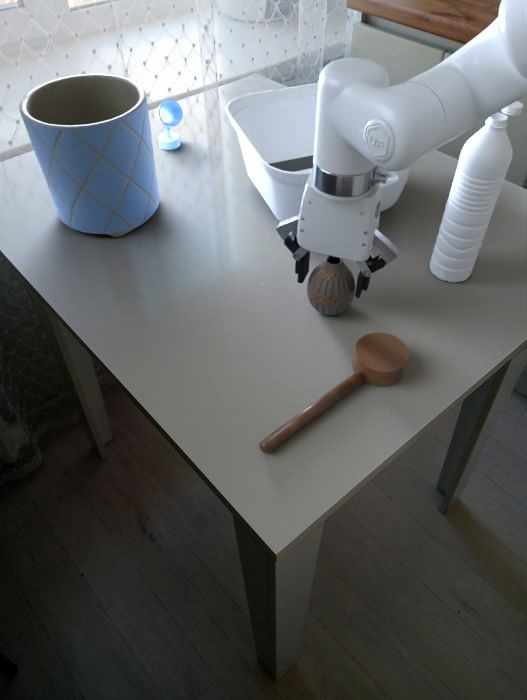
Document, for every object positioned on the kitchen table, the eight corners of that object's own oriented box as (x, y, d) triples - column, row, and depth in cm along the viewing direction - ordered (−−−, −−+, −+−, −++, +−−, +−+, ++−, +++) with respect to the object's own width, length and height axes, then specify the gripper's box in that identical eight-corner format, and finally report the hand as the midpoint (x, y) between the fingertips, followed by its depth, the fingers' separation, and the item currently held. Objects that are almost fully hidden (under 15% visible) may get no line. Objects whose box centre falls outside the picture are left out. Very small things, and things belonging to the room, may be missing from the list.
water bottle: (458, 289, 85) (512, 132, 66) (421, 271, 88) (462, 116, 69) (484, 262, 89) (541, 108, 71) (448, 245, 92) (494, 94, 74)
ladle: (376, 339, 78) (379, 324, 76) (415, 368, 74) (419, 353, 72) (242, 434, 67) (241, 420, 65) (280, 473, 64) (281, 459, 62)
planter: (183, 195, 103) (169, 85, 88) (124, 253, 91) (96, 138, 76) (98, 173, 108) (72, 65, 93) (33, 225, 97) (-9, 112, 82)
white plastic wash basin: (436, 234, 94) (458, 153, 83) (280, 271, 88) (282, 189, 77) (348, 143, 116) (356, 69, 105) (218, 167, 109) (212, 92, 99)
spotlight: (188, 149, 114) (175, 135, 118) (183, 101, 107) (169, 87, 111) (166, 155, 113) (153, 141, 117) (159, 106, 105) (145, 93, 109)
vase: (361, 305, 83) (369, 258, 76) (332, 329, 79) (338, 282, 73) (325, 284, 86) (330, 238, 79) (296, 307, 82) (298, 260, 76)
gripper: (421, 171, 67) (396, 282, 80) (286, 146, 71) (283, 255, 84) (409, 204, 62) (384, 316, 75) (264, 175, 66) (265, 286, 79)
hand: (331, 283), depth 79 cm, fingers open, 8 cm apart
